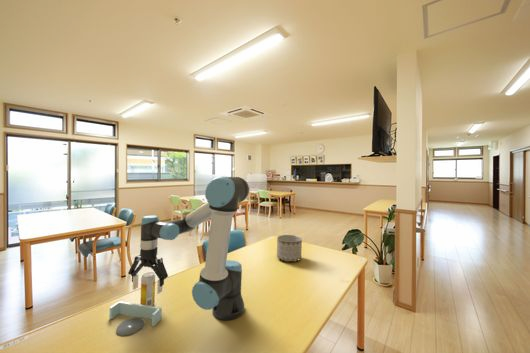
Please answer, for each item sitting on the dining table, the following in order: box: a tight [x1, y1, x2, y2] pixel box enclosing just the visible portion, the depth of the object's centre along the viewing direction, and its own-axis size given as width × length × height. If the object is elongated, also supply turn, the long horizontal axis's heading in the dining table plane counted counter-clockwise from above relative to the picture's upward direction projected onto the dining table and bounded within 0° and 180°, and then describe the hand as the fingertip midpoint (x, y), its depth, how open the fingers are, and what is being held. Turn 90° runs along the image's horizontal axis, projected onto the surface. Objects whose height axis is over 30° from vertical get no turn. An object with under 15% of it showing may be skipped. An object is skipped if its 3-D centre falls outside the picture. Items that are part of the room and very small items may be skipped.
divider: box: [108, 300, 163, 327], centre depth 96 cm, size 22×5×5 cm, turn 80°
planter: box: [276, 234, 303, 262], centre depth 172 cm, size 19×19×16 cm
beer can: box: [140, 272, 156, 306], centre depth 107 cm, size 6×6×15 cm
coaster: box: [115, 317, 145, 337], centre depth 91 cm, size 10×10×1 cm
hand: (147, 290), depth 107 cm, fingers open, 13 cm apart
